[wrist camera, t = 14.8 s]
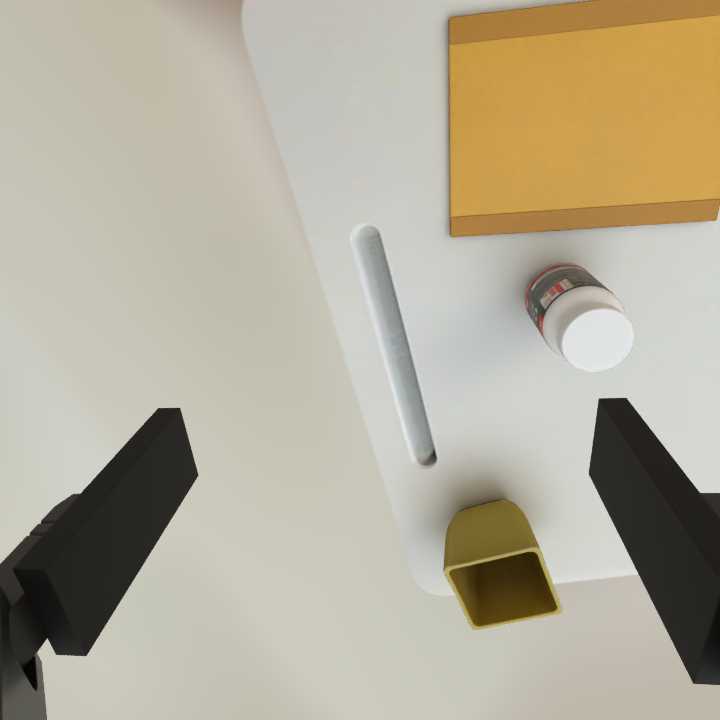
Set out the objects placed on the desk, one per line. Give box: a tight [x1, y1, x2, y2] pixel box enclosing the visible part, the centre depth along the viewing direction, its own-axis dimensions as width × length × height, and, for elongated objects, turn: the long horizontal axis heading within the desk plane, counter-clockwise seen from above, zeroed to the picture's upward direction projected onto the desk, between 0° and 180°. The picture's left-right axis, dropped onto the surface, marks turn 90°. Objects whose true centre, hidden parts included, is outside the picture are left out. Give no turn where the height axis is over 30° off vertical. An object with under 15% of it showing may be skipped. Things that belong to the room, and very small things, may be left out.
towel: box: [449, 0, 720, 237], centre depth 36 cm, size 15×20×1 cm
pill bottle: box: [525, 264, 634, 372], centre depth 38 cm, size 6×6×10 cm
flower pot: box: [443, 499, 563, 630], centre depth 49 cm, size 9×9×9 cm
